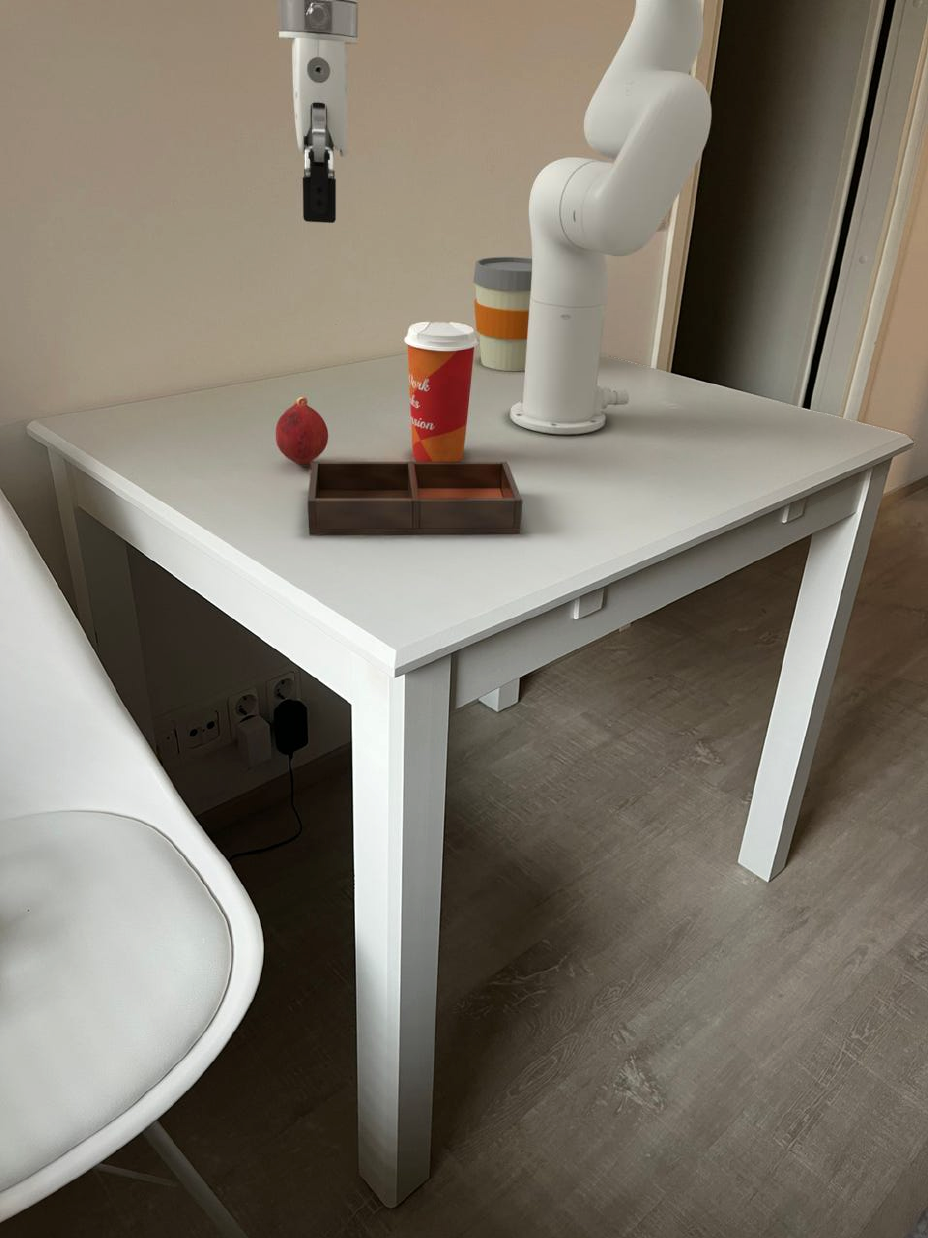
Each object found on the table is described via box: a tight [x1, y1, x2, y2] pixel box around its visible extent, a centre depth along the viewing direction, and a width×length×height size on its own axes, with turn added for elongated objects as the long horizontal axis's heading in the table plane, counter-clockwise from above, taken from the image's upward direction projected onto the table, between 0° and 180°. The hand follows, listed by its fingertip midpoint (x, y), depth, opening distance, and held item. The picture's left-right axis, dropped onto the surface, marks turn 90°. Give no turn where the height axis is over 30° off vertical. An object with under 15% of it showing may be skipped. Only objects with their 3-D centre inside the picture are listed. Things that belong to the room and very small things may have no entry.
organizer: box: [307, 460, 523, 536], centre depth 99 cm, size 21×11×4 cm, turn 96°
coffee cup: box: [404, 321, 479, 462], centre depth 111 cm, size 8×8×15 cm
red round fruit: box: [275, 396, 329, 467], centre depth 109 cm, size 6×6×8 cm
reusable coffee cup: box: [472, 256, 532, 372], centre depth 149 cm, size 13×13×15 cm
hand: (319, 215), depth 101 cm, fingers open, 9 cm apart
